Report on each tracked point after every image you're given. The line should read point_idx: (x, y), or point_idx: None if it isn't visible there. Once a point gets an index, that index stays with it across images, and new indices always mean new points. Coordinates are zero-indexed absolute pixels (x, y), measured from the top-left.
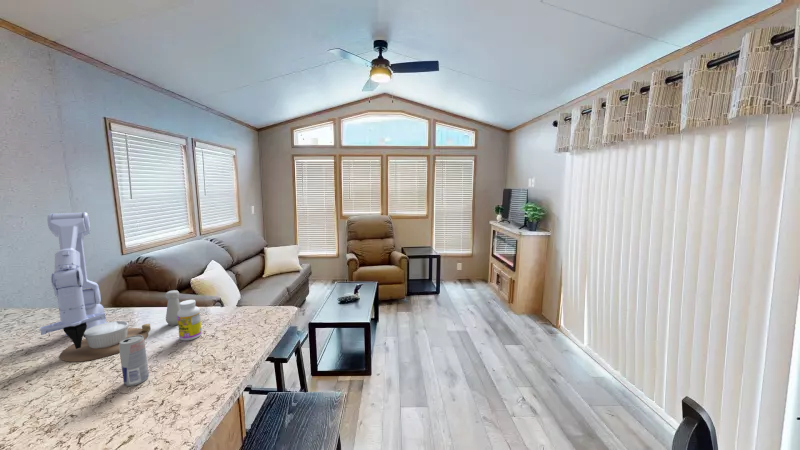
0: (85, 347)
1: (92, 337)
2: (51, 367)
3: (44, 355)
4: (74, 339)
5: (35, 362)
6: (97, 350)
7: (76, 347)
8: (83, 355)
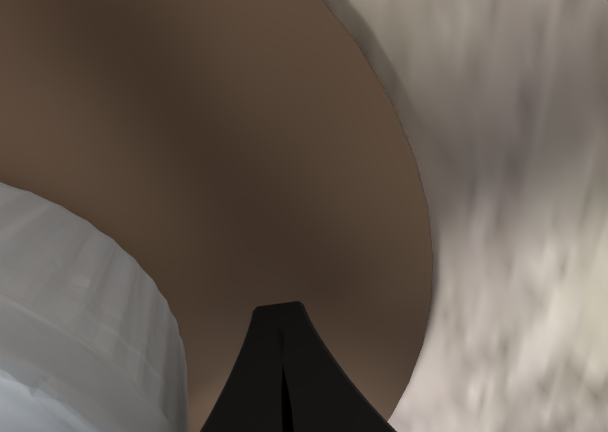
0: (221, 355)
1: (11, 310)
2: (533, 53)
3: (504, 415)
4: (328, 400)
5: (583, 318)
6: (76, 160)
7: (298, 309)
8: (228, 117)
